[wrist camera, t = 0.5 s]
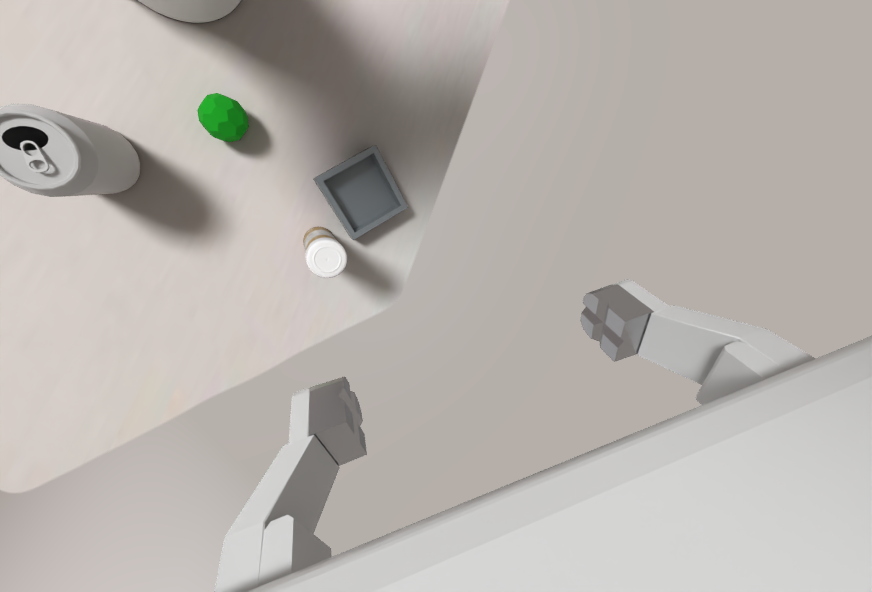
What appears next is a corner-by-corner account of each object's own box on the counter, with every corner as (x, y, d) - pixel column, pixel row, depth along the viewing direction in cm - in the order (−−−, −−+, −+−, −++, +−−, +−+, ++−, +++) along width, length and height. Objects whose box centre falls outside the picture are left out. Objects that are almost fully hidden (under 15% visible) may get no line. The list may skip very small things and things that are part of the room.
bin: (313, 178, 46) (314, 178, 44) (371, 146, 48) (375, 144, 45) (350, 237, 51) (353, 240, 48) (402, 206, 52) (407, 207, 50)
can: (123, 118, 37) (56, 93, 27) (156, 186, 40) (107, 188, 30) (40, 128, 35) (-69, 105, 25) (81, 199, 38) (0, 206, 28)
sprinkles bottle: (319, 262, 50) (327, 286, 38) (296, 240, 48) (296, 259, 36) (341, 242, 51) (356, 260, 39) (319, 219, 48) (327, 231, 37)
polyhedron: (259, 129, 42) (255, 123, 38) (227, 151, 42) (219, 148, 38) (227, 90, 40) (220, 79, 36) (193, 113, 39) (181, 104, 35)
